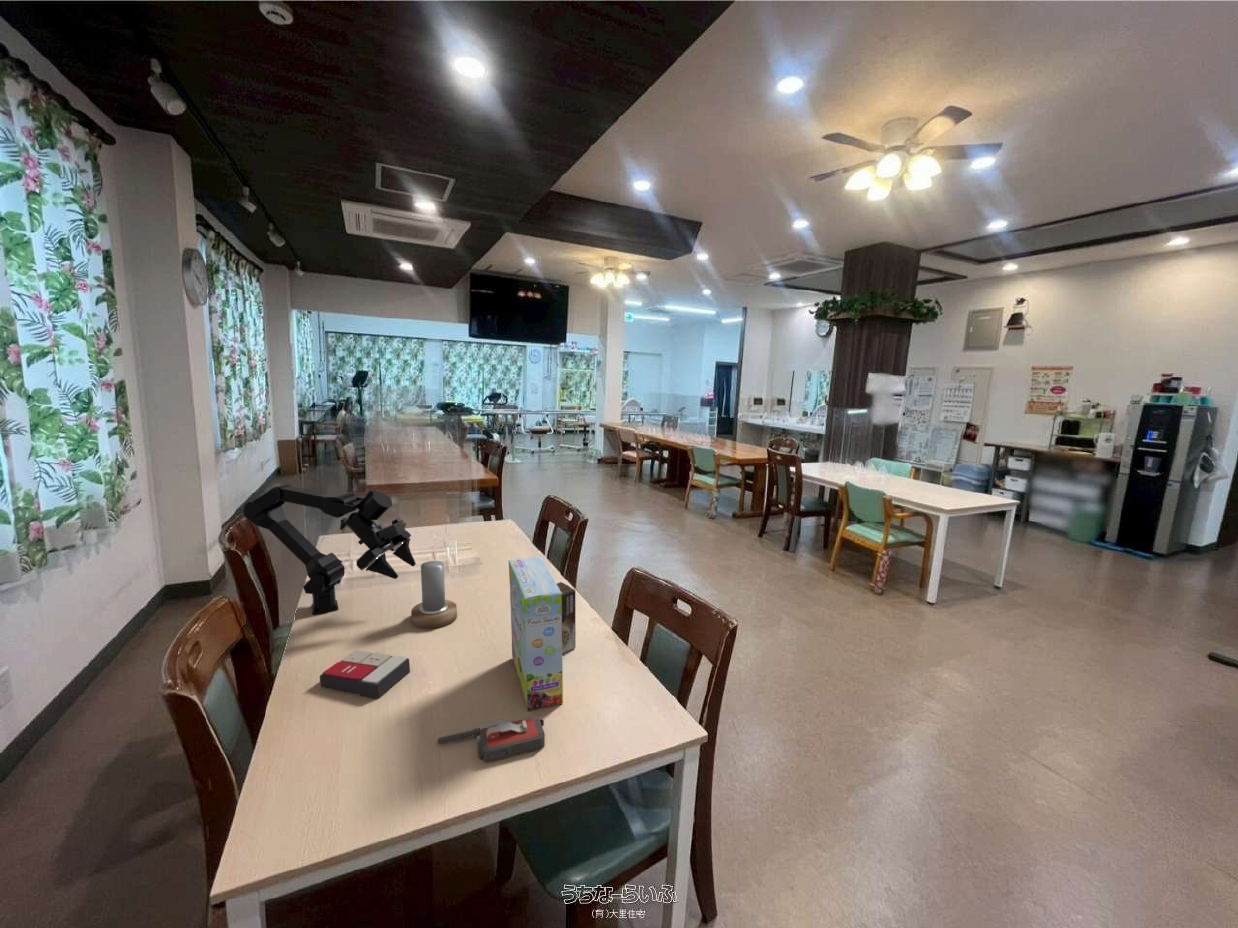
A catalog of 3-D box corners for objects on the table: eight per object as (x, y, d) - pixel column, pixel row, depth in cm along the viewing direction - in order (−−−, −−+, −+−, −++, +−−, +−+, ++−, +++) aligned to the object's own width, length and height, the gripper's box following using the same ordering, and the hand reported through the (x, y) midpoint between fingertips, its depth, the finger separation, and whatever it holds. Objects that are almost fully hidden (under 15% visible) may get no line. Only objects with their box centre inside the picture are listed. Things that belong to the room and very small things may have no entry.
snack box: (508, 657, 126) (506, 558, 122) (543, 651, 129) (543, 554, 125) (524, 713, 106) (523, 596, 102) (565, 704, 109) (565, 591, 105)
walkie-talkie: (540, 719, 105) (437, 743, 98) (540, 700, 104) (436, 722, 97) (551, 749, 97) (439, 777, 90) (551, 728, 96) (438, 754, 89)
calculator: (355, 647, 123) (409, 655, 119) (357, 664, 124) (411, 672, 120) (318, 672, 112) (376, 682, 109) (320, 690, 113) (378, 700, 109)
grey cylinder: (413, 610, 143) (411, 565, 141) (435, 600, 149) (434, 557, 147) (431, 617, 139) (430, 572, 137) (454, 607, 145) (452, 563, 143)
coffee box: (561, 638, 136) (561, 581, 133) (576, 648, 131) (576, 589, 128) (532, 650, 130) (531, 590, 127) (546, 661, 125) (546, 599, 122)
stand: (407, 614, 146) (407, 604, 146) (450, 605, 153) (450, 596, 152) (416, 633, 137) (416, 622, 136) (462, 622, 143) (461, 612, 142)
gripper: (364, 521, 132) (406, 565, 132) (403, 503, 150) (440, 542, 151) (338, 548, 134) (379, 591, 135) (379, 527, 152) (416, 565, 153)
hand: (406, 571), depth 143 cm, fingers open, 9 cm apart
